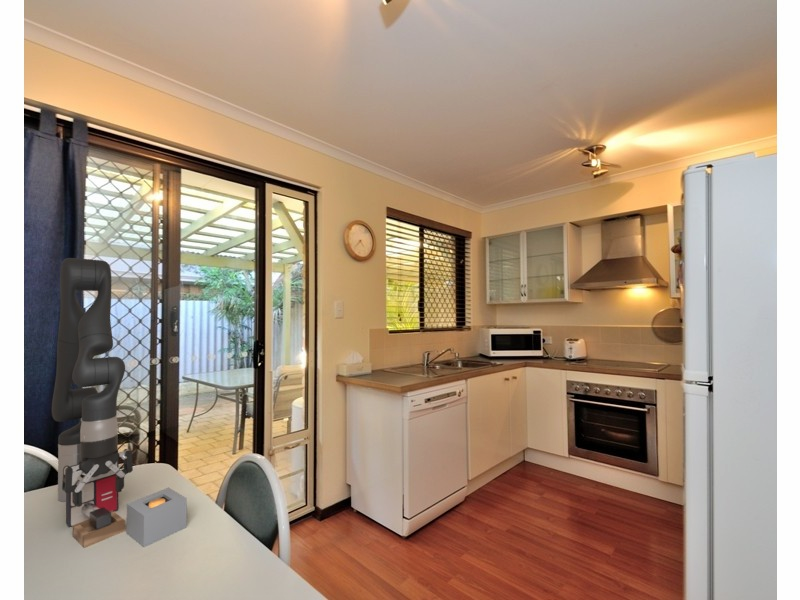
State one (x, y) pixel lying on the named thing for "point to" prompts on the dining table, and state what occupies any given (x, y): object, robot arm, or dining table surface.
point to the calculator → (93, 496)
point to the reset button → (156, 502)
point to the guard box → (156, 517)
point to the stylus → (97, 515)
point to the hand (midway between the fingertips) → (99, 498)
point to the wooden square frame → (97, 531)
